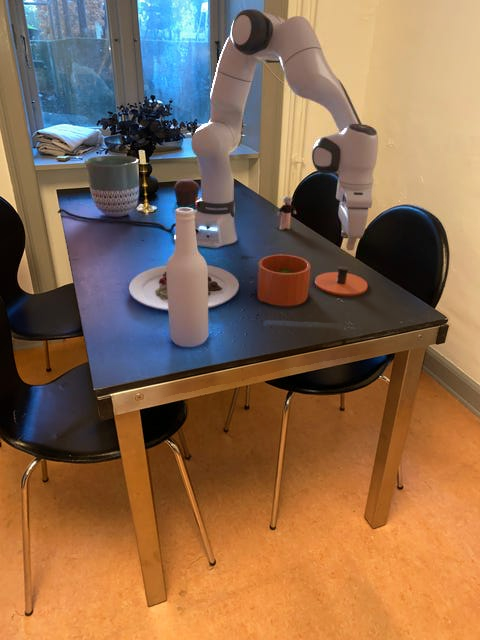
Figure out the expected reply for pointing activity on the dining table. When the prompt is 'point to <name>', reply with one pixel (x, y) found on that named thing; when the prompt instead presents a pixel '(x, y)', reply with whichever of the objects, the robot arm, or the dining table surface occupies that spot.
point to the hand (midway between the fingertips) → (347, 243)
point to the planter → (113, 183)
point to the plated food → (154, 287)
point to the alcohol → (187, 285)
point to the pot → (283, 280)
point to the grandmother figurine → (286, 213)
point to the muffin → (186, 192)
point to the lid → (341, 283)
